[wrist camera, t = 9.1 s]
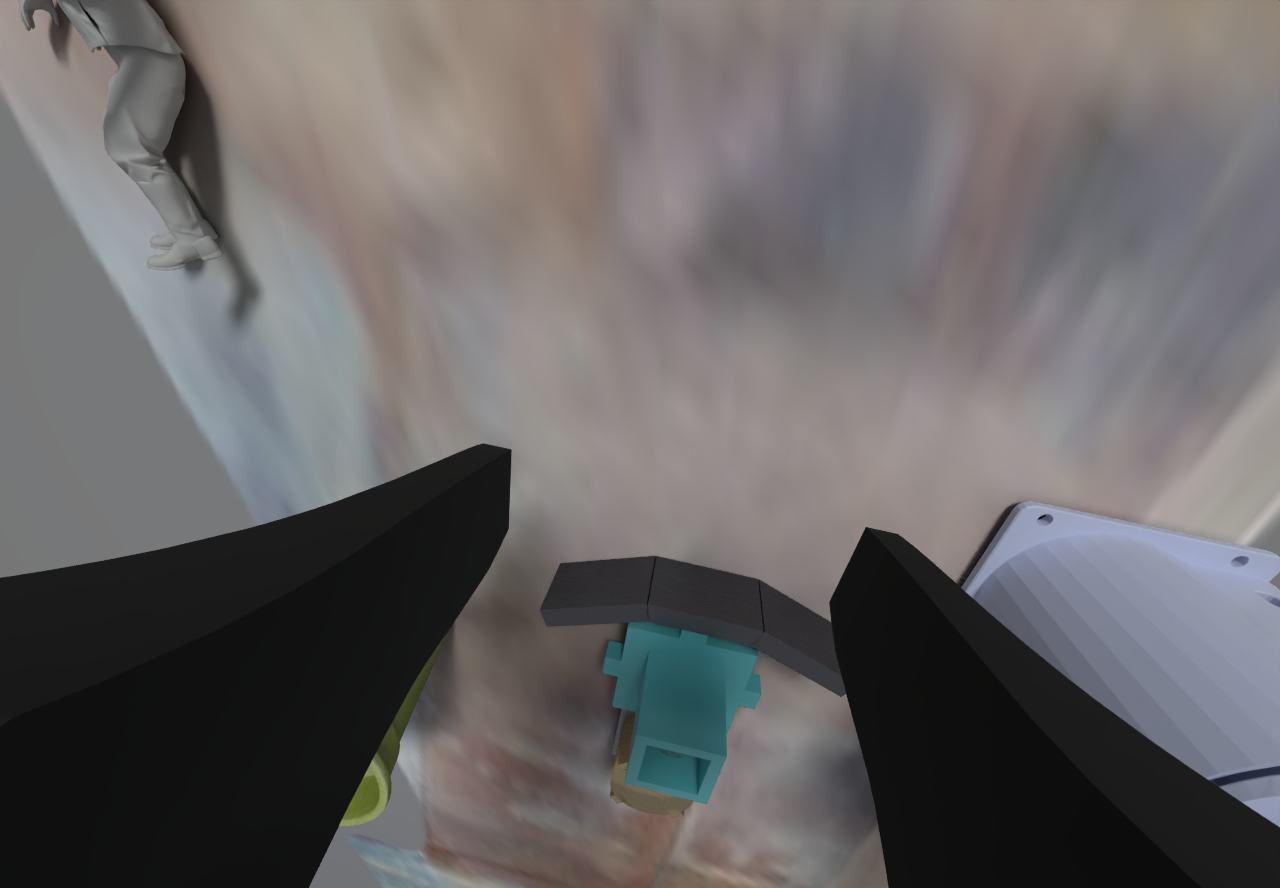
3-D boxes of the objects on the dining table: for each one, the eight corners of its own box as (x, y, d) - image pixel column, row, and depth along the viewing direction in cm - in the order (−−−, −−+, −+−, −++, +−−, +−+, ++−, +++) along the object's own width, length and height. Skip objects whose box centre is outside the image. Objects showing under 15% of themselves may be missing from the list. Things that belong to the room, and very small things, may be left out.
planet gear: (778, 630, 22) (793, 739, 17) (737, 727, 25) (741, 838, 21) (617, 594, 22) (592, 691, 18) (599, 694, 26) (575, 796, 21)
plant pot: (509, 589, 25) (414, 763, 17) (452, 680, 29) (356, 852, 21) (343, 500, 23) (161, 643, 16) (309, 609, 28) (154, 763, 20)
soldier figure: (158, 229, 20) (-244, -291, 11) (284, 198, 21) (22, -268, 13) (152, 293, 15) (-549, -519, 6) (315, 247, 17) (-64, -433, 8)
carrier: (855, 601, 22) (890, 703, 17) (764, 775, 28) (773, 880, 24) (563, 534, 22) (525, 616, 18) (543, 719, 29) (512, 811, 25)
